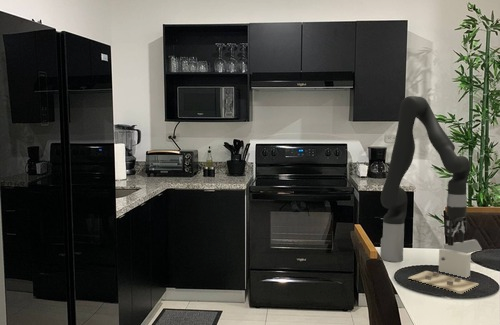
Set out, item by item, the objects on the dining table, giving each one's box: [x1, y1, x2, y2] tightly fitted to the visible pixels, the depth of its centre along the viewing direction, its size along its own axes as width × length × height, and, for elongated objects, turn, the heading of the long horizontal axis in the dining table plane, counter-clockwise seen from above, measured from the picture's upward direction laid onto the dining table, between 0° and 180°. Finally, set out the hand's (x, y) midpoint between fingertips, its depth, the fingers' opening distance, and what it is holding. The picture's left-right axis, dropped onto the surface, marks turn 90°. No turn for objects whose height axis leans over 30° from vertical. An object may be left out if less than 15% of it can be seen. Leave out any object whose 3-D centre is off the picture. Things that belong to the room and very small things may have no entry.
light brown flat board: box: [407, 270, 480, 295], centre depth 198 cm, size 22×14×2 cm, turn 41°
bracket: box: [443, 238, 483, 254], centre depth 229 cm, size 4×10×15 cm
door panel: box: [438, 247, 472, 278], centre depth 207 cm, size 12×4×10 cm, turn 41°
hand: (455, 243), depth 207 cm, fingers open, 8 cm apart
